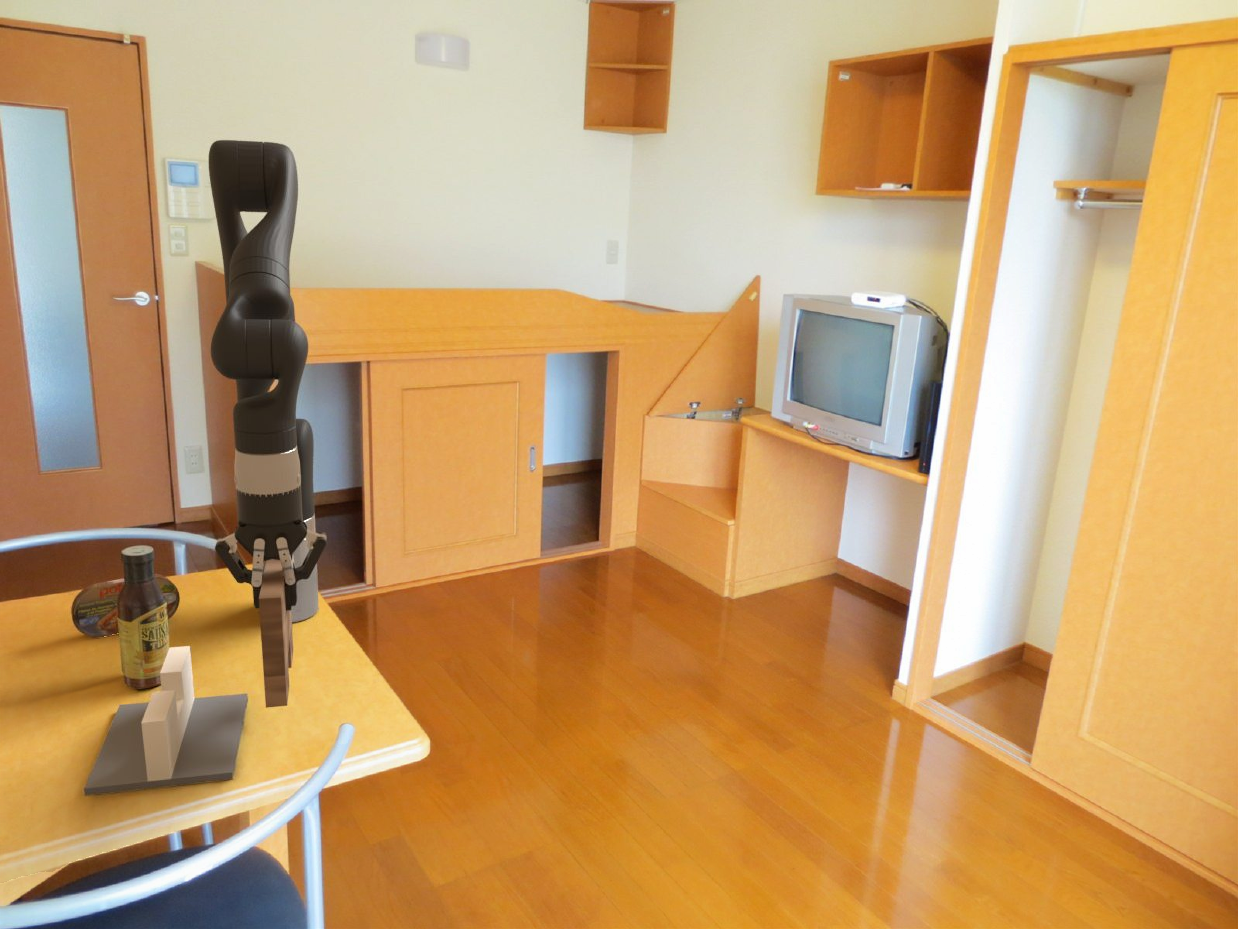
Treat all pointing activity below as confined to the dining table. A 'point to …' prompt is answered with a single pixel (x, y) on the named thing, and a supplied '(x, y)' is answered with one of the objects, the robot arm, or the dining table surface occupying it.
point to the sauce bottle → (141, 620)
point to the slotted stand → (170, 736)
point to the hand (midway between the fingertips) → (276, 608)
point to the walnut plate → (275, 635)
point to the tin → (111, 606)
